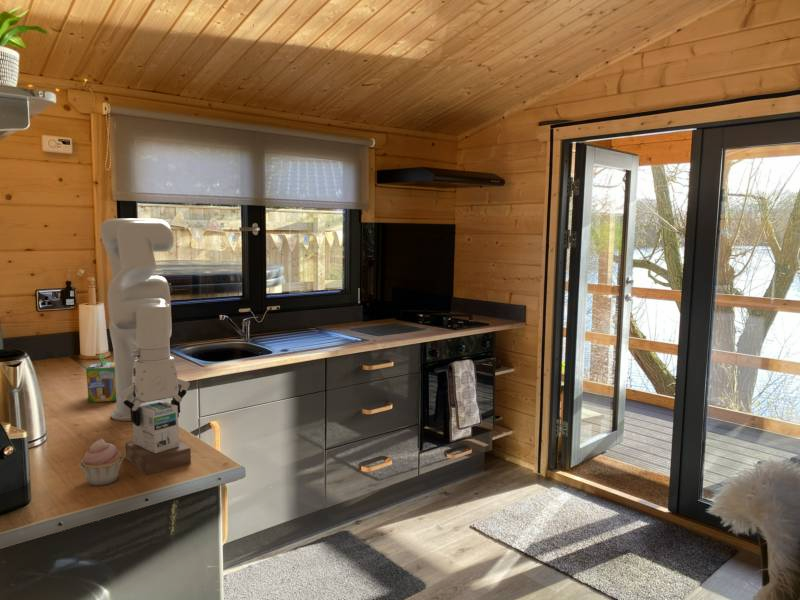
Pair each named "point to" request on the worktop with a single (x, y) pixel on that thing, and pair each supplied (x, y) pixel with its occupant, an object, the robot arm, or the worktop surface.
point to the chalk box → (101, 381)
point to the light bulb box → (157, 426)
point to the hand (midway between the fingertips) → (156, 420)
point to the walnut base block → (157, 457)
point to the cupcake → (101, 463)
